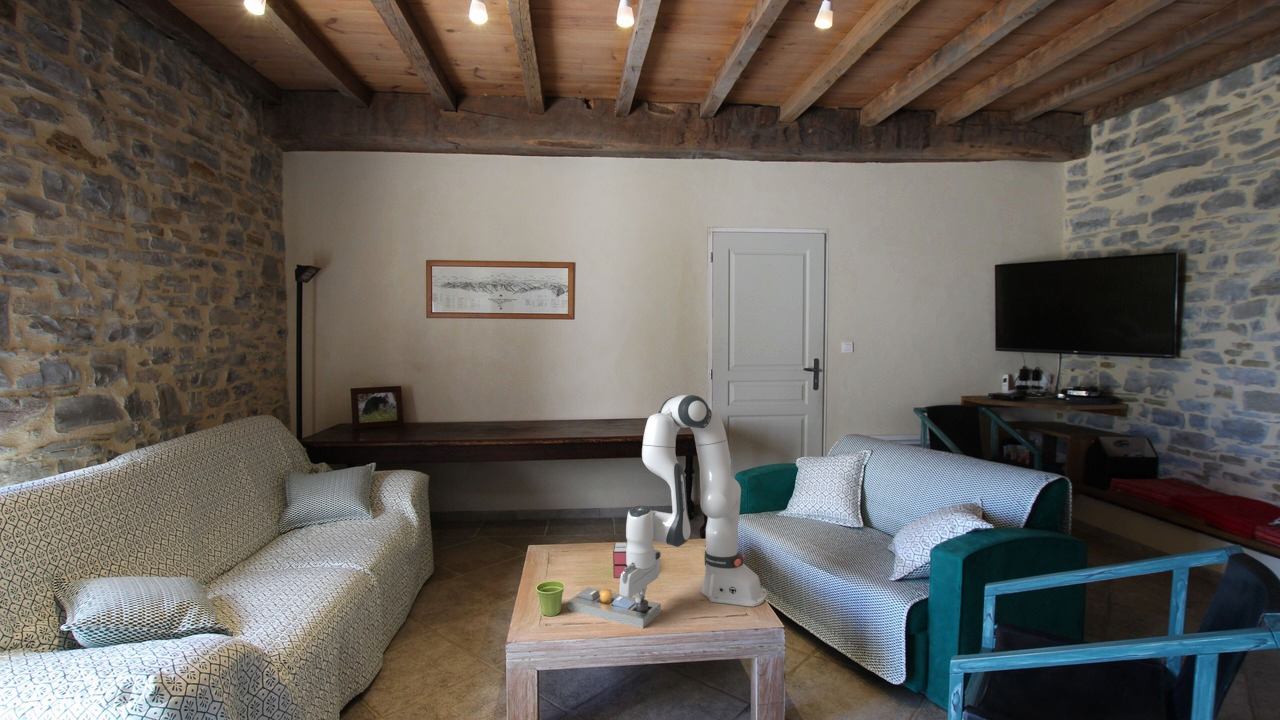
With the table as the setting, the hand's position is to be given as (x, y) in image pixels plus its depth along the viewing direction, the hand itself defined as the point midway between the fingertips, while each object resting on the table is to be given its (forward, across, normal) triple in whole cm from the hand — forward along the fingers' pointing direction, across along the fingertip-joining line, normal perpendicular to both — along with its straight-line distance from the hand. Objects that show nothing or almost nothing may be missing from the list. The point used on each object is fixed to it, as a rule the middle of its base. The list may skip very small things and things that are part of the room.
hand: (640, 601), depth 198 cm
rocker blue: (+2, 0, +6) cm, 6 cm away
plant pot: (+6, -11, +27) cm, 30 cm away
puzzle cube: (+6, +29, +22) cm, 37 cm away
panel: (+5, 0, +10) cm, 11 cm away
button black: (+4, 0, -1) cm, 4 cm away
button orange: (+3, -1, +13) cm, 13 cm away
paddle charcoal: (+2, -1, +19) cm, 20 cm away
